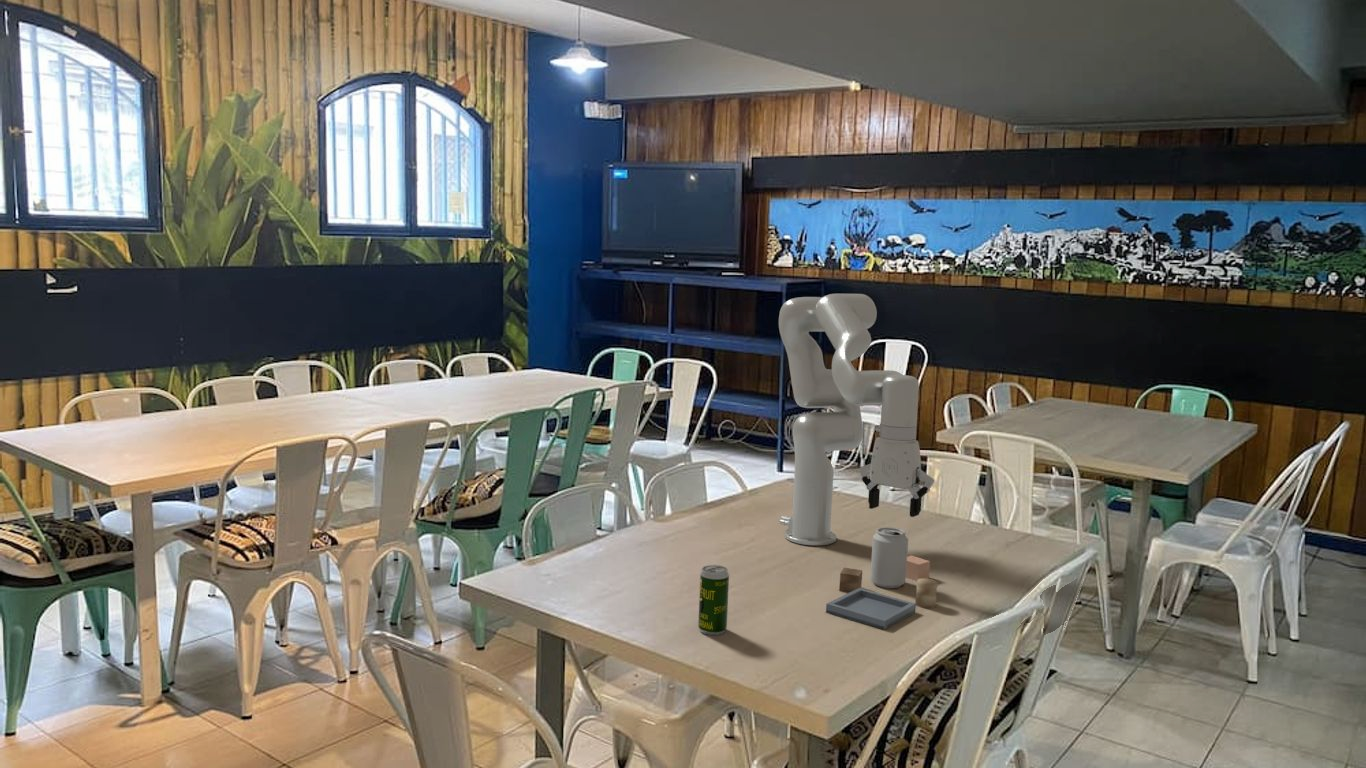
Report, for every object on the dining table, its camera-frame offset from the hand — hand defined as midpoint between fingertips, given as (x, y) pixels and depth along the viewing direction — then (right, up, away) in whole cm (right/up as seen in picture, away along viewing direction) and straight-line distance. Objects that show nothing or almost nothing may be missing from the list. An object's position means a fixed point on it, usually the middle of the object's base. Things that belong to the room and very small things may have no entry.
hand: (893, 511), depth 221 cm
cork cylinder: (+5, -18, -9) cm, 21 cm away
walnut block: (-10, -17, -1) cm, 19 cm away
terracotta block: (+6, -16, +8) cm, 19 cm away
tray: (-8, -18, -15) cm, 25 cm away
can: (-1, -16, +3) cm, 17 cm away
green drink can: (-40, -19, -27) cm, 52 cm away
